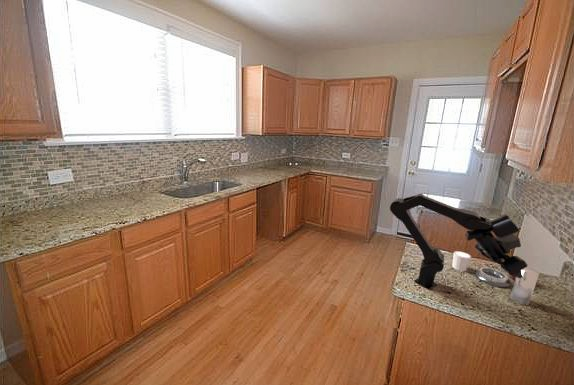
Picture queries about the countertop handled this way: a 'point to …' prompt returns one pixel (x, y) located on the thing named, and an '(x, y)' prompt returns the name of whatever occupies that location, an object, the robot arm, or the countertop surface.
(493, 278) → the collar
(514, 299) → the clear drinking glass
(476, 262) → the countertop surface
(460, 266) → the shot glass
